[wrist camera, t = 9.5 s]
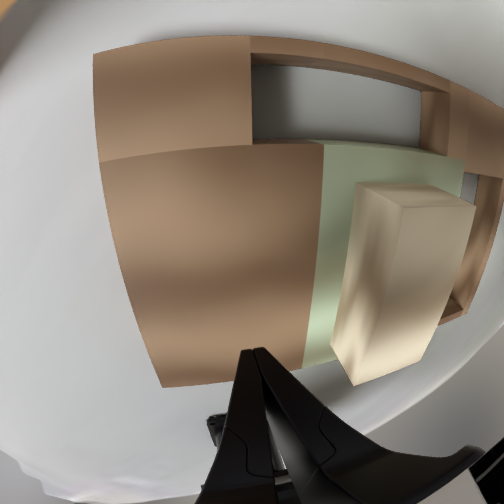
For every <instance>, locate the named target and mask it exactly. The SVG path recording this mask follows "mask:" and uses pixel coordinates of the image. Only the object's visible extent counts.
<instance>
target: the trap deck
mask: <svg viewBox="0 0 504 504" xmlns="http://www.w3.org/2000/svg"><path fill="white" fill-rule="evenodd" d="M251 64H266V65H284V66H297V67H307V68H316V69H324V70H331V71H337V72H343V73H349V74H355V75H360V76H365V77H369V78H374V79H378V80H383V81H387V82H391V83H395V84H398V85H402V86H405V87H409V88H412V89H416V90H419V91H421V126H420V142H419V148H413V147H406V146H398V145H390V144H381V143H370V142H358V141H344V140H324V139H252V99H251ZM93 96H94V115H95V128H96V139H97V148H98V157H99V165H100V172H101V178H102V185H103V191H104V197H105V202H106V208H107V213H108V218H109V222H110V227H111V232H112V236H113V240H114V245H115V249H116V253H117V257H118V261H119V265H120V268H121V272H122V276H123V279H124V283H125V286H126V289H127V293H128V296H129V299H130V302H131V306H132V309H133V312H134V315H135V318H136V321H137V324H138V327H139V329H140V332H141V335H142V338H143V340H144V343H145V346H146V348H147V351H148V354H149V356H150V359H151V361H152V364H153V366H154V369H155V371H156V374H157V376H158V378H159V381H160V383H161V385H162V387H163V388H167V387H181V386H193V385H203V384H212V383H220V382H228V381H234V379H235V374H236V370H237V365H238V360H239V356H240V351H241V350H244V349H252V350H253V348H257V347H265V348H266V349H267V350H268V351H269V352H270V353H271V354H272V355H273V356H274V357H275V358H276V359H277V360H278V361H279V362H280V363H281V364H282V365H283V366H284V367H285V368H286V369H287V370H288V371H292V370H296V369H301V368H305V367H310V366H314V365H318V364H322V363H326V362H330V361H334V360H338V357H337V355H336V354H335V352H334V350H333V348H332V347H331V345H330V343H331V338H332V334H333V329H334V325H335V320H336V315H337V310H338V305H339V300H340V294H341V289H342V283H343V277H344V271H345V265H346V259H347V252H348V245H349V238H350V230H351V222H352V213H353V204H354V194H355V182H377V183H420V184H431V185H433V186H435V187H437V188H440V189H442V190H444V191H446V192H448V193H450V194H453V195H455V196H457V197H459V198H460V194H461V188H462V182H463V176H464V172H468V173H474V174H479V180H478V186H477V192H476V197H475V202H474V205H475V206H476V210H475V215H474V219H473V223H472V227H471V231H470V235H469V239H468V242H467V246H466V249H465V253H464V256H463V259H462V262H461V265H460V269H459V272H458V274H457V277H456V280H455V283H454V286H453V288H452V291H451V294H450V296H449V299H448V301H447V304H446V306H445V309H444V311H443V313H442V316H441V318H440V320H439V323H438V325H437V326H439V325H441V324H444V323H446V322H448V321H451V320H453V319H455V318H458V317H460V316H462V315H464V314H466V313H467V311H468V309H469V307H470V304H471V302H472V300H473V297H474V295H475V293H476V290H477V288H478V285H479V283H480V280H481V277H482V275H483V272H484V269H485V266H486V263H487V261H488V258H489V254H490V251H491V248H492V245H493V242H494V238H495V235H496V231H497V227H498V223H499V219H500V215H501V211H502V206H503V202H504V109H503V108H501V107H499V106H498V105H496V104H494V103H493V102H491V101H489V100H487V99H485V98H484V97H482V96H480V95H478V94H476V93H474V92H472V91H470V90H468V89H466V88H464V87H462V86H460V85H458V84H456V83H454V82H452V81H449V80H447V79H445V78H442V77H440V76H438V75H435V74H433V73H430V72H428V71H425V70H423V69H420V68H417V67H414V66H412V65H409V64H406V63H403V62H400V61H397V60H393V59H390V58H387V57H383V56H380V55H376V54H372V53H369V52H365V51H361V50H356V49H352V48H347V47H343V46H338V45H332V44H327V43H321V42H314V41H307V40H299V39H291V38H280V37H266V36H201V37H187V38H176V39H168V40H160V41H153V42H147V43H141V44H135V45H130V46H125V47H120V48H116V49H111V50H107V51H103V52H99V53H96V54H93Z"/></svg>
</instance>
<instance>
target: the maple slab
mask: <svg viewBox="0 0 504 504" xmlns="http://www.w3.org/2000/svg"><path fill="white" fill-rule="evenodd" d="M475 210H476V206H475V205H473V204H471V203H469V202H467V201H465V200H463V199H461V198H459V197H457V196H455V195H453V194H450V193H448V192H446V191H444V190H442V189H440V188H437V187H435V186H433V185H431V184H420V183H377V182H355V194H354V204H353V213H352V222H351V230H350V238H349V245H348V252H347V259H346V265H345V271H344V277H343V283H342V289H341V294H340V300H339V305H338V310H337V315H336V320H335V325H334V329H333V334H332V338H331V343H330V345H331V347H332V348H333V350H334V352H335V354H336V355H337V357H338V359H339V361H340V363H341V364H342V366H343V368H344V370H345V372H346V373H347V375H348V377H349V379H350V381H351V382H352V384H353V386H355V385H358V384H361V383H364V382H367V381H370V380H373V379H376V378H378V377H381V376H384V375H386V374H389V373H391V372H394V371H397V370H399V369H401V368H404V367H406V366H409V365H411V364H413V363H416V362H418V361H420V359H421V357H422V356H423V354H424V352H425V350H426V348H427V346H428V344H429V342H430V340H431V338H432V336H433V333H434V331H435V329H436V327H437V325H438V323H439V320H440V318H441V316H442V313H443V311H444V309H445V306H446V304H447V301H448V299H449V296H450V294H451V291H452V288H453V286H454V283H455V280H456V277H457V274H458V272H459V269H460V265H461V262H462V259H463V256H464V253H465V249H466V246H467V242H468V239H469V235H470V231H471V227H472V223H473V219H474V215H475Z"/></svg>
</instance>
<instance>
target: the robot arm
mask: <svg viewBox="0 0 504 504" xmlns="http://www.w3.org/2000/svg"><path fill="white" fill-rule="evenodd" d="M207 426H208V429H209V431H210V434H211V437H212V440H213V443H214V445H215V446H216V447H217V454H216V457H215V460H214V462H213V465H212V467H211V470H210V472H209V474H208V477H207V479H206V481H205V484H204V485H201V489H202V491H201V493H200V495H199V497H198V498H197V500H196V502H195V504H504V437H503V438H502V439H501V440H500V441H498V442H497V443H496V444H495V445H494V446H493V447H492V448H491V449H489V450H488V451H487V452H486V453H485V450H483V449H482V448H480V447H477V446H473V445H466V446H464V447H463V448H462V449H460V450H459V451H458V452H456V453H455V454H453V455H451V456H448V457H429V456H420V455H413V454H405V453H400V452H394V451H391V450H388V449H385V448H383V447H381V446H380V445H378V444H376V443H375V442H373V441H372V440H370V439H369V438H367V437H366V436H364V435H362V434H361V433H359V432H358V431H356V430H355V429H353V428H352V427H351V426H349V425H348V424H346V423H345V422H344V421H342V420H341V419H340V418H339V417H337V416H336V415H335V414H334V413H333V412H332V411H331V410H329V409H328V408H327V407H326V406H324V404H323V403H322V402H321V401H320V400H318V399H317V398H316V397H315V396H314V395H313V394H312V393H311V392H310V391H309V390H308V389H307V388H306V387H305V386H304V385H302V384H301V383H300V382H299V381H298V380H297V379H296V378H295V377H294V376H293V375H292V374H291V373H290V372H289V371H288V370H287V369H286V368H285V367H284V366H283V365H282V364H281V363H280V362H279V361H278V360H277V359H276V358H275V357H274V356H273V355H272V354H271V353H270V352H269V351H268V350H267V349H266V348H265V347H257V348H253V350H252V349H244V350H241V351H240V356H239V360H238V365H237V370H236V374H235V379H234V384H233V388H232V393H231V397H230V402H229V407H228V411H227V416H224V417H216V418H209V419H207ZM279 451H280V452H279ZM280 453H281V455H280ZM484 453H485V454H484ZM483 454H484V455H483ZM281 456H282V458H283V461H284V463H285V466H286V468H287V469H285V468H284V465H283V461H282V458H281Z"/></svg>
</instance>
